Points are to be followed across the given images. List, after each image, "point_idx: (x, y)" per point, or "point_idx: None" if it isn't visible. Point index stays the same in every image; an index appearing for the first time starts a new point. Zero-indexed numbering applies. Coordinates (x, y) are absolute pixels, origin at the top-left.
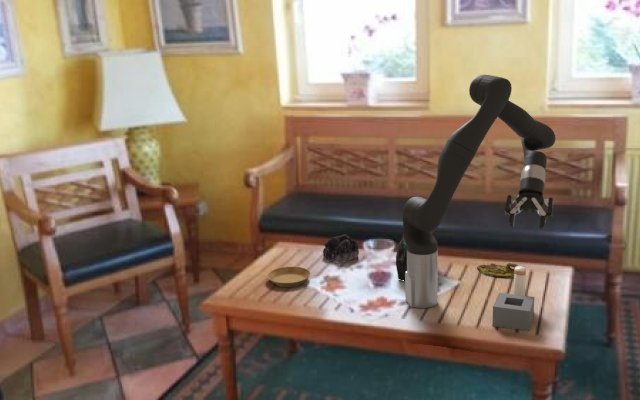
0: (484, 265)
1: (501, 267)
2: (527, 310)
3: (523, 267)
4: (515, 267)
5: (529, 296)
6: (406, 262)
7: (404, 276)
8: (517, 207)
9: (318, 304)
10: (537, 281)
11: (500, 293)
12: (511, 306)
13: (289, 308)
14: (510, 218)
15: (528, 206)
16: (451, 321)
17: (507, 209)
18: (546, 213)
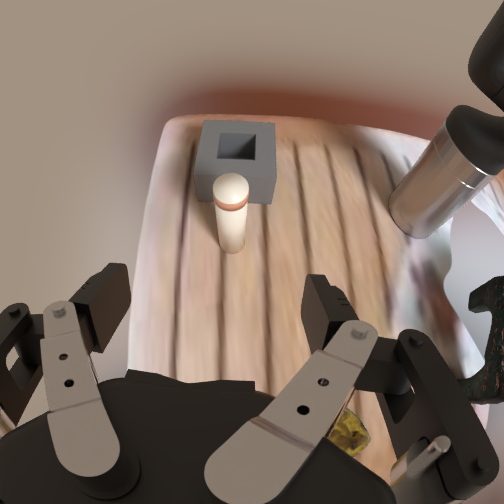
0: (354, 444)
1: None
2: (208, 121)
3: (220, 194)
4: (246, 189)
5: (204, 173)
6: (496, 281)
7: (477, 288)
8: (327, 353)
9: (493, 185)
10: None
11: (272, 174)
12: (239, 128)
13: (500, 172)
14: (345, 309)
15: (187, 397)
16: (339, 154)
17: (410, 342)
18: (40, 329)
